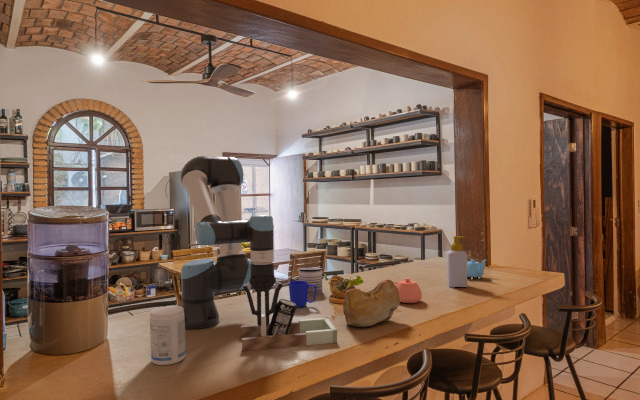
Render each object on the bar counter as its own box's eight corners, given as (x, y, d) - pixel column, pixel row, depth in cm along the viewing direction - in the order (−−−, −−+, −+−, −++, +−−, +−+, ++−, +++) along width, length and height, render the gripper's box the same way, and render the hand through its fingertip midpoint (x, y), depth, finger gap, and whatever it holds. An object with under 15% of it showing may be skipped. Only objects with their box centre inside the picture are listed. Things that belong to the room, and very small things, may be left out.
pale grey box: (306, 345, 134) (306, 332, 134) (299, 331, 148) (299, 319, 148) (337, 342, 136) (337, 330, 136) (327, 328, 150) (327, 317, 150)
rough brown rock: (380, 312, 172) (376, 275, 173) (407, 319, 158) (403, 279, 158) (330, 324, 161) (327, 284, 161) (355, 332, 146) (351, 289, 147)
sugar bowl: (420, 306, 178) (420, 282, 178) (387, 303, 183) (387, 280, 182) (423, 299, 190) (423, 276, 190) (392, 297, 194) (391, 274, 194)
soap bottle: (467, 288, 209) (467, 237, 209) (449, 287, 211) (448, 237, 210) (464, 284, 218) (464, 235, 218) (446, 284, 220) (446, 235, 219)
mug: (314, 309, 175) (314, 285, 175) (286, 308, 178) (286, 284, 178) (318, 304, 183) (318, 281, 183) (291, 303, 186) (291, 280, 186)
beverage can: (276, 332, 144) (287, 298, 144) (289, 341, 139) (301, 306, 140) (262, 332, 139) (274, 297, 139) (276, 341, 134) (288, 305, 135)
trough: (242, 351, 130) (242, 339, 130) (240, 336, 144) (240, 325, 143) (306, 345, 134) (306, 334, 134) (299, 331, 148) (299, 321, 148)
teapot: (458, 279, 232) (458, 260, 232) (462, 274, 243) (462, 257, 243) (483, 281, 226) (483, 262, 225) (486, 276, 237) (486, 258, 237)
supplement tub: (175, 351, 131) (174, 303, 130) (192, 359, 124) (191, 309, 124) (144, 360, 124) (143, 310, 123) (160, 369, 117) (159, 316, 117)
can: (295, 294, 202) (294, 269, 202) (303, 289, 213) (303, 265, 213) (318, 295, 198) (317, 270, 198) (325, 290, 209) (325, 266, 209)
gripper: (242, 265, 133) (243, 340, 133) (283, 263, 135) (284, 337, 135) (241, 262, 140) (242, 333, 140) (281, 260, 143) (282, 330, 143)
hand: (263, 335), depth 138 cm, fingers closed
